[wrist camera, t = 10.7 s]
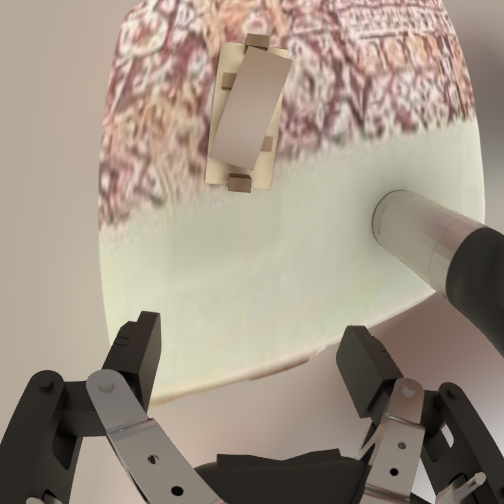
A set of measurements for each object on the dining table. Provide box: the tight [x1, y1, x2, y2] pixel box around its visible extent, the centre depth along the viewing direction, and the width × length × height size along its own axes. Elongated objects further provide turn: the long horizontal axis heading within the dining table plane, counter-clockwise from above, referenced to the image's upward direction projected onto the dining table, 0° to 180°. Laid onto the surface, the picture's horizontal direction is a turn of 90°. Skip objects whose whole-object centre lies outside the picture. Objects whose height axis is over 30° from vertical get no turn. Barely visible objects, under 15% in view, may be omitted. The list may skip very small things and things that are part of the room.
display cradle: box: [205, 33, 288, 193], centre depth 30 cm, size 8×18×5 cm, turn 173°
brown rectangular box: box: [208, 46, 293, 171], centre depth 27 cm, size 5×12×5 cm, turn 161°
